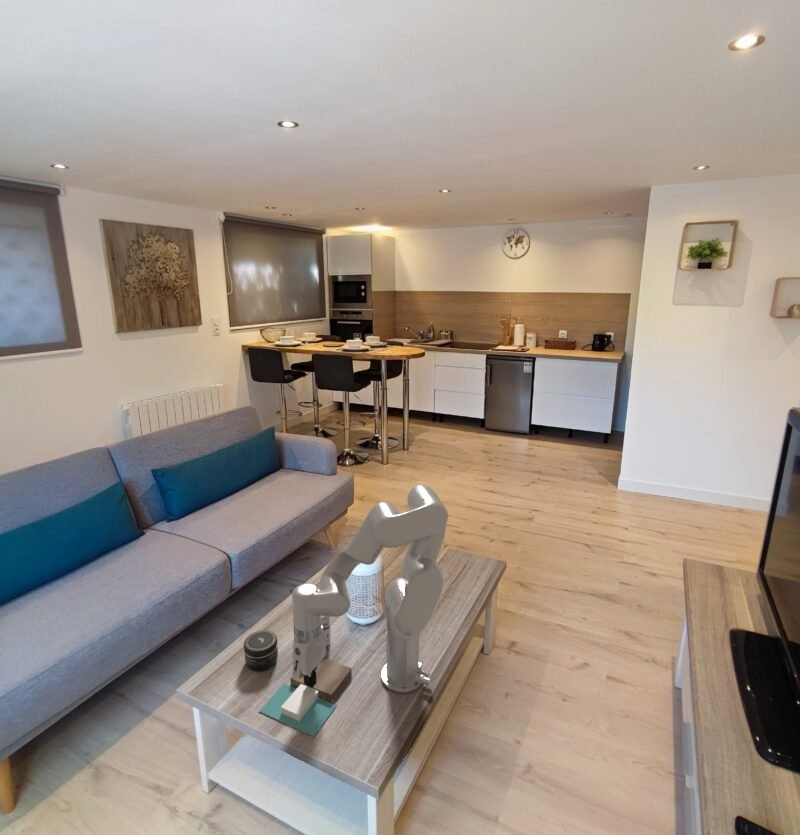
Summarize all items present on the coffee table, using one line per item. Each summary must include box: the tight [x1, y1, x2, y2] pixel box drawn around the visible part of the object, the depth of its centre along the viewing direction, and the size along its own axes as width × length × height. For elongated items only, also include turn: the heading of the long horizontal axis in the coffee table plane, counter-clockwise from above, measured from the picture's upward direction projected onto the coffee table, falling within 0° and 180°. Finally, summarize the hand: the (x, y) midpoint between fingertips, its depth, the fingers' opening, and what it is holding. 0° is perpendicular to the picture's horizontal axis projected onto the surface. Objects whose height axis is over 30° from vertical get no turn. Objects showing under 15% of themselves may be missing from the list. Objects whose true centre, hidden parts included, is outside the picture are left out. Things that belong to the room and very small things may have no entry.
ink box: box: [321, 616, 331, 647], centre depth 158 cm, size 8×5×12 cm, turn 123°
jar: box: [243, 629, 279, 672], centre depth 151 cm, size 10×10×8 cm
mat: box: [258, 683, 337, 738], centre depth 135 cm, size 18×11×1 cm, turn 65°
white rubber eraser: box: [281, 684, 320, 721], centre depth 136 cm, size 6×9×2 cm, turn 155°
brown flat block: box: [289, 657, 353, 703], centre depth 145 cm, size 14×11×2 cm
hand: (310, 683), depth 139 cm, fingers closed
